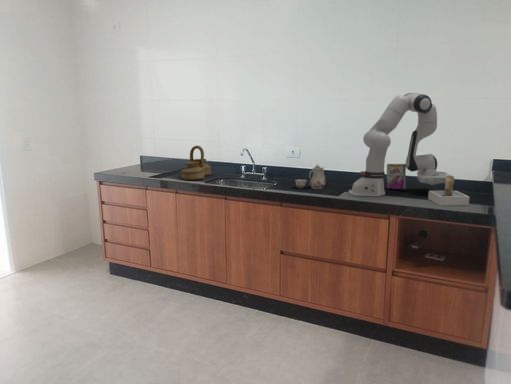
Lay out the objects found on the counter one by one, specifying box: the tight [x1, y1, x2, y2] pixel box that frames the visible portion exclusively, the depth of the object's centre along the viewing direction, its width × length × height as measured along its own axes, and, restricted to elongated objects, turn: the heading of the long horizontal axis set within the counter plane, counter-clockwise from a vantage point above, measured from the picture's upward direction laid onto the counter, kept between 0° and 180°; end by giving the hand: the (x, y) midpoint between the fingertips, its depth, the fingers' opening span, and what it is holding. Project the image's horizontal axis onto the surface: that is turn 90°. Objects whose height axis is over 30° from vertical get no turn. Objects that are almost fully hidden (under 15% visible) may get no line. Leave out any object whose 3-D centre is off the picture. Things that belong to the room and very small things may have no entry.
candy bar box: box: [386, 163, 407, 190], centre depth 272 cm, size 11×5×16 cm, turn 55°
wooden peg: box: [444, 175, 455, 196], centre depth 236 cm, size 4×4×14 cm
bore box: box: [427, 190, 470, 207], centre depth 237 cm, size 16×16×5 cm
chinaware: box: [294, 163, 326, 190], centre depth 282 cm, size 28×17×17 cm, turn 134°
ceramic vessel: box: [180, 145, 212, 181], centre depth 322 cm, size 34×18×25 cm, turn 171°
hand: (441, 181), depth 246 cm, fingers open, 8 cm apart
